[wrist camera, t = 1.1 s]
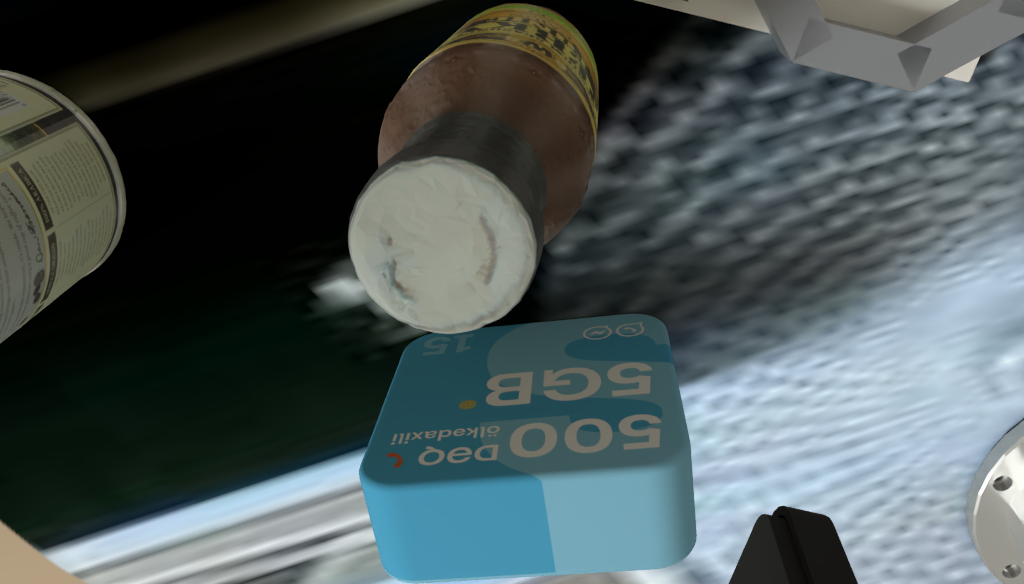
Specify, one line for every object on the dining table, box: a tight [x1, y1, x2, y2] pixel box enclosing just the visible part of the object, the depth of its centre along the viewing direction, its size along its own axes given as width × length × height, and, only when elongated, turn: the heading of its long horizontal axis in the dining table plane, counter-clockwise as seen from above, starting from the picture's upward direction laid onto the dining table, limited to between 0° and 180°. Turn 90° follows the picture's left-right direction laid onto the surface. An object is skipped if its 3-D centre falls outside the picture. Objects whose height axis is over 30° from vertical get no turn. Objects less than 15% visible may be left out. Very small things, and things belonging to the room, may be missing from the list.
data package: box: [359, 314, 697, 583], centre depth 36 cm, size 12×4×12 cm, turn 98°
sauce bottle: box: [348, 3, 599, 334], centre depth 27 cm, size 6×6×20 cm
